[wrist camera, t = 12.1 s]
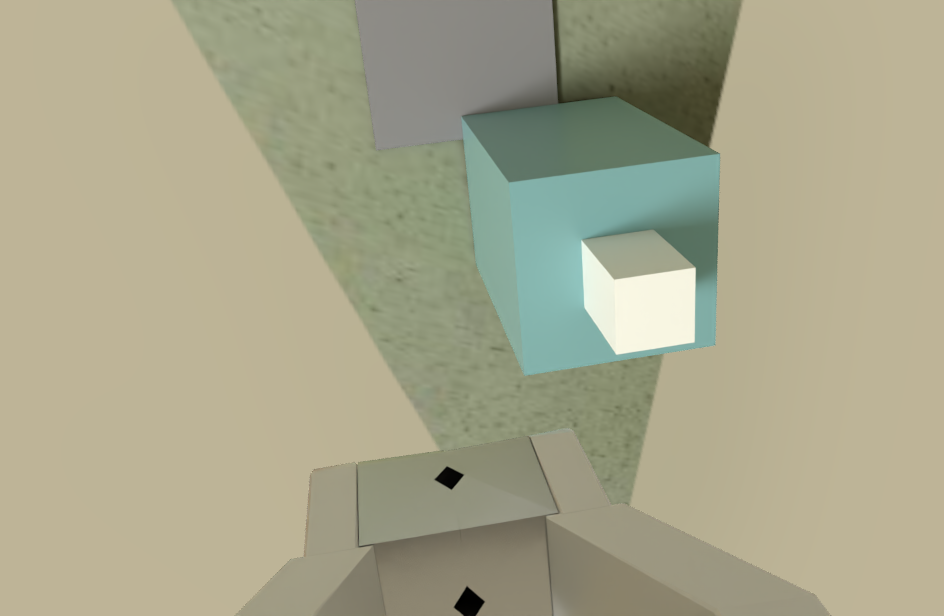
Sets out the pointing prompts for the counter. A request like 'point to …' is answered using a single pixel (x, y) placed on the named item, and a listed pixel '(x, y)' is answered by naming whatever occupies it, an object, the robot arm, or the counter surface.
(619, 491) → the counter surface
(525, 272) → the cover
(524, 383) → the counter surface
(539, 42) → the mat
